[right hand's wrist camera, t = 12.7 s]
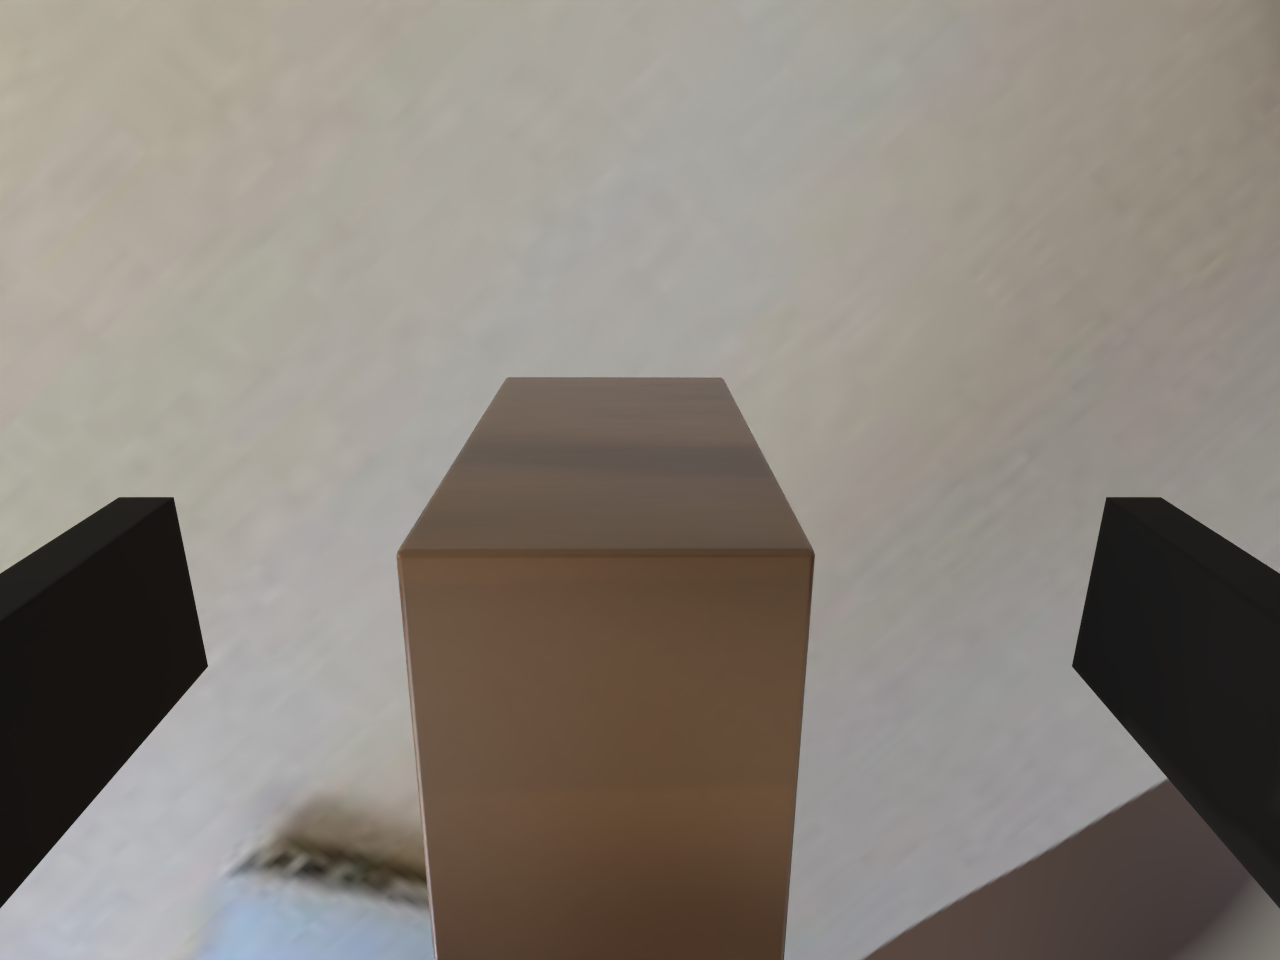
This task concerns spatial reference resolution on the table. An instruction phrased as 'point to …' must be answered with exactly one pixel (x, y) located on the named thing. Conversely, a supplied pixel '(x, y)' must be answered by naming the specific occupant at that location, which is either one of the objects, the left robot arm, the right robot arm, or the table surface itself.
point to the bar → (607, 678)
